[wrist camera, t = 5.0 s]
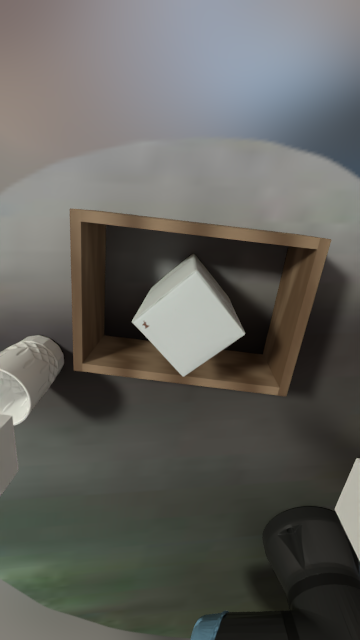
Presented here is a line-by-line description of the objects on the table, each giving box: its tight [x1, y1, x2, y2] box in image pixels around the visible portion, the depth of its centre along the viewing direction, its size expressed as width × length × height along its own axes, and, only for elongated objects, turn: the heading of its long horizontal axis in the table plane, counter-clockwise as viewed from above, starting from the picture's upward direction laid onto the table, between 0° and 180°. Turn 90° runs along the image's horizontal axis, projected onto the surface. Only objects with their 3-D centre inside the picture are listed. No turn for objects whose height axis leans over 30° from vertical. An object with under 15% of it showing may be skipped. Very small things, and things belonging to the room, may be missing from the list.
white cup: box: [0, 335, 64, 426], centre depth 36 cm, size 8×8×10 cm
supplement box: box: [132, 254, 245, 377], centre depth 30 cm, size 7×7×13 cm
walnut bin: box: [70, 209, 331, 396], centre depth 32 cm, size 24×17×8 cm
